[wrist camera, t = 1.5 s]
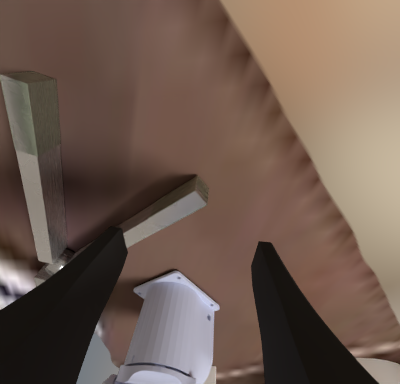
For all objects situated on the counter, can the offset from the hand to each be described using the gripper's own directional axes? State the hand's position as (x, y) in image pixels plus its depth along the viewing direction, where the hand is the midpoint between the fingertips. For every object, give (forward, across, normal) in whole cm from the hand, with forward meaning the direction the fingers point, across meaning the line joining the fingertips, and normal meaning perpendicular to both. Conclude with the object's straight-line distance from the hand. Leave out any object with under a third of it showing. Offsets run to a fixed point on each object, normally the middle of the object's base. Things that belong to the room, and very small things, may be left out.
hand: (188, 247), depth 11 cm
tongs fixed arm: (+8, +14, +5) cm, 17 cm away
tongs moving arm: (+8, +8, +7) cm, 13 cm away
